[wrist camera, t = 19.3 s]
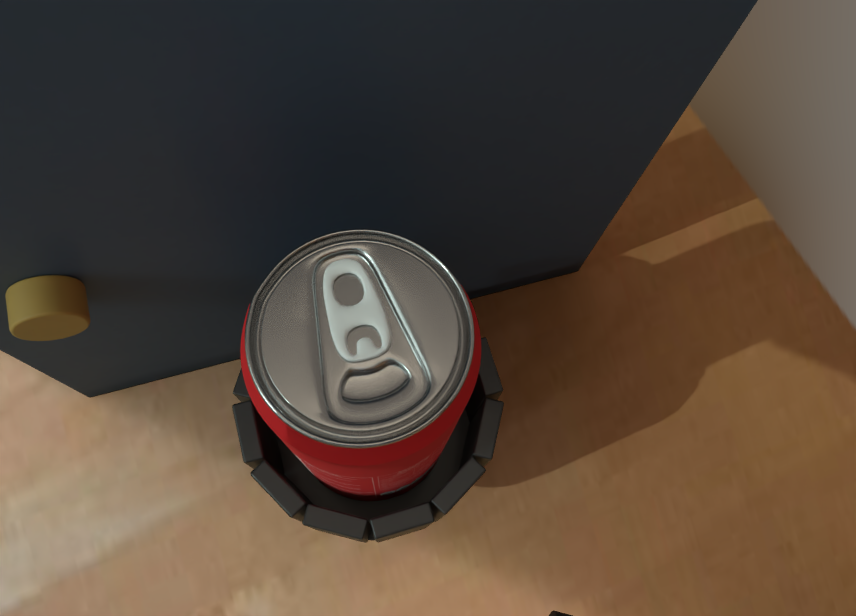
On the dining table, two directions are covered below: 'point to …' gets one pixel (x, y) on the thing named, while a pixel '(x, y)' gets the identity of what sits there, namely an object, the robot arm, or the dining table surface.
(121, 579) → the dining table surface
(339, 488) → the beverage can
